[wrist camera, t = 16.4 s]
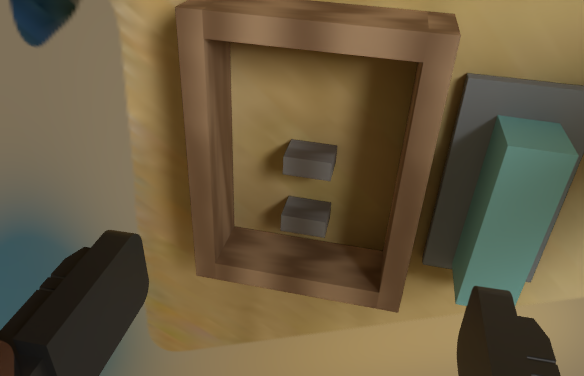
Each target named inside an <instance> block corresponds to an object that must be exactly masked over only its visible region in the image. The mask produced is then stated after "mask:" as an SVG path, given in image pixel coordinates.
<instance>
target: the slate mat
mask: <svg viewBox="0 0 584 376" xmlns="http://www.w3.org/2000/svg"><path fill="white" fill-rule="evenodd" d="M498 115H501V116H508V117H516V118H523V119H531V120H538V121H545V122H553V123H560V124H561V126H562V128H563V129H564V131H565V133H566V134H567V136H568V138H569V140H570V141H571V143H572V145H573V147H574V148H575V150H576V152H577V154H578V155H579V156H578V159H577V161H576V163H575V166H574V168H573V170H572V173H571V175H570V177H569V180H568V182H567V185H566V187H565V189H564V192H563V194H562V196H561V199H560V201H559V203H558V206H557V208H556V211H555V213H554V215H553V218H552V220H551V222H550V225H549V227H548V229H547V232H546V234H545V236H544V239H543V241H542V244H541V246H540V248H539V251H538V253H537V255H536V258H535V260H534V262H533V265H532V267H531V270H530V272H529V274H528V277H527V279H526V281H525V282H531V280H532V278H533V275H534V273H535V270H536V268H537V266H538V263H539V261H540V258H541V256H542V253H543V251H544V249H545V246H546V244H547V241H548V239H549V236H550V234H551V232H552V229H553V227H554V224H555V222H556V219H557V217H558V215H559V212H560V210H561V207H562V205H563V202H564V200H565V198H566V195H567V193H568V190H569V188H570V185H571V183H572V181H573V178H574V176H575V173H576V171H577V168H578V166H579V164H580V161H581V159H582V156H583V154H584V86H580V85H571V84H562V83H553V82H544V81H535V80H525V79H516V78H507V77H498V76H489V75H480V74H471V73H467V76H466V80H465V85H464V89H463V93H462V97H461V101H460V105H459V109H458V113H457V117H456V122H455V126H454V130H453V134H452V138H451V142H450V146H449V150H448V154H447V159H446V163H445V167H444V171H443V175H442V179H441V183H440V187H439V191H438V196H437V200H436V204H435V208H434V212H433V216H432V220H431V224H430V228H429V233H428V237H427V241H426V245H425V249H424V253H423V264H424V265H430V266H436V267H442V268H448V269H452V262H453V259H454V256H455V253H456V249H457V246H458V243H459V240H460V236H461V233H462V230H463V227H464V223H465V220H466V217H467V214H468V210H469V207H470V204H471V201H472V197H473V194H474V191H475V187H476V184H477V181H478V178H479V174H480V171H481V168H482V165H483V161H484V158H485V155H486V152H487V148H488V145H489V142H490V139H491V135H492V132H493V129H494V126H495V122H496V119H497V116H498Z"/></svg>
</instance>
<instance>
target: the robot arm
mask: <svg viewBox="0 0 584 376" xmlns="http://www.w3.org/2000/svg"><path fill="white" fill-rule="evenodd" d="M148 287H149V279H148V273H147V267H146V262H145V256H144V250H143V244H142V240H141V237H140V236H139V235H138V234H134V233H127V232H121V231H114V230H107V231H105V232H104V233H103V234H102V235H101V237H100V238H99V239H98V240H97V241H96V242H95V244H94V245H93V246H92V247H91V248H88V247H83V248H82V249H80V250H78V251H77V252H75V253H74V254H72V255H70V256H69V257H67V258H65V259H64V260H63V262H62V263H61V264H60V265H59V266H58V267H57V268H56V269H55V270H54V271H53V273H52V274H51V277H49V278H47V279H46V280H45V282H44V283H43V284H42V285H41V286H40V289H39V290H36V292H35V293H34V294H33V295H32V296H31V297H30V298H29V299H28V300H27V302H26V303H25V304H24V305H23V306H22V307H21V308H20V309H19V311H18V312H17V313H16V314H15V315H14V316H13V317H12V318H11V319H10V320H9V322H8V323H7V324H6V325H5V326H4V327H3V328H2V329H1V330H0V376H99V375H100V373H101V371H102V370H103V368H104V366H105V365H106V363H107V362H108V360H109V359H110V357H111V355H112V354H113V352H114V350H115V349H116V347H117V346H118V344H119V342H120V341H121V339H122V338H123V336H124V335H125V333H126V331H127V330H128V328H129V326H130V325H131V323H132V321H133V320H134V318H135V317H136V315H137V314H138V312H139V310H140V308H141V307H142V305H143V304H144V302H145V299H146V296H147V293H148ZM457 365H458V374H459V376H560V372H559V369H558V366H557V365H556V359H555V356H554V353H553V349H552V346H551V342H550V339H549V338H548V336H547V335H546V334H545V332H544V331H543V330H542V329H541V327H540V326H539V325H538V324H537V322H536V321H535V320H534V319H533V318H527V317H521V316H517V313H516V309H515V305H514V301H513V297H512V294H511V292H510V291H507V290H501V289H494V288H487V287H481V286H474V287H473V289H472V291H471V294H470V297H469V301H468V304H467V307H466V311H465V314H464V318H463V321H462V324H461V328H460V331H459V336H458V342H457Z"/></svg>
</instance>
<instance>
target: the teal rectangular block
mask: <svg viewBox="0 0 584 376" xmlns="http://www.w3.org/2000/svg"><path fill="white" fill-rule="evenodd" d="M578 156H579V155H578V154H577V152H576V150H575V148H574V147H573V145H572V143H571V141H570V140H569V138H568V136H567V134H566V133H565V131H564V129H563V128H562V126H561V124H560V123H553V122H545V121H538V120H531V119H523V118H516V117H508V116H501V115H498V116H497V119H496V122H495V126H494V129H493V132H492V135H491V139H490V142H489V145H488V148H487V152H486V155H485V158H484V161H483V165H482V168H481V171H480V174H479V178H478V181H477V184H476V187H475V191H474V194H473V197H472V201H471V204H470V207H469V210H468V214H467V217H466V220H465V223H464V227H463V230H462V233H461V236H460V240H459V243H458V246H457V249H456V253H455V256H454V259H453V262H452V270H453V281H454V291H455V302H456V304H459V305H464V306H467V304H468V301H469V297H470V294H471V291H472V289H473V287H474V286H481V287H487V288H494V289H501V290H507V291H510V292H511V294H512V297H513V301H514V305H516V303H517V300H518V298H519V295H520V293H521V291H522V288H523V286H524V284H525V281H526V279H527V277H528V274H529V272H530V270H531V267H532V265H533V262H534V260H535V258H536V255H537V253H538V251H539V248H540V246H541V244H542V241H543V239H544V236H545V234H546V232H547V229H548V227H549V225H550V222H551V220H552V218H553V215H554V213H555V211H556V208H557V206H558V203H559V201H560V199H561V196H562V194H563V192H564V189H565V187H566V185H567V182H568V180H569V177H570V175H571V173H572V170H573V168H574V166H575V163H576V161H577V159H578Z"/></svg>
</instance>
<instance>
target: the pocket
mask: <svg viewBox="0 0 584 376" xmlns="http://www.w3.org/2000/svg"><path fill="white" fill-rule="evenodd" d="M175 14H176V26H177V38H178V51H179V63H180V76H181V88H182V101H183V113H184V126H185V138H186V151H187V163H188V176H189V188H190V201H191V213H192V226H193V238H194V251H195V263H196V275H197V276H202V277H208V278H213V279H218V280H224V281H229V282H235V283H240V284H246V285H251V286H257V287H262V288H267V289H273V290H278V291H284V292H289V293H295V294H300V295H305V296H311V297H316V298H322V299H327V300H333V301H338V302H343V303H349V304H354V305H360V306H365V307H371V308H376V309H381V310H387V311H392V312H398V311H399V306H400V302H401V298H402V293H403V289H404V284H405V280H406V275H407V271H408V267H409V262H410V258H411V253H412V249H413V245H414V240H415V236H416V231H417V227H418V222H419V218H420V214H421V209H422V205H423V200H424V196H425V192H426V187H427V183H428V178H429V174H430V169H431V165H432V161H433V156H434V152H435V147H436V143H437V139H438V134H439V130H440V125H441V121H442V116H443V112H444V108H445V103H446V99H447V94H448V90H449V86H450V81H451V77H452V72H453V68H454V64H455V59H456V55H457V50H458V46H459V41H460V37H461V35H460V31H459V27H458V24H457V20H456V17H455V14H449V13H438V12H427V11H417V10H406V9H395V8H384V7H374V6H363V5H352V4H341V3H331V2H320V1H309V0H187V1H186V2H184V3H182V4H180V5H178V6H176V7H175ZM230 42H238V43H248V44H257V45H266V46H275V47H285V48H294V49H303V50H312V51H321V52H331V53H340V54H349V55H358V56H368V57H377V58H386V59H395V60H404V61H414V62H418V65H417V70H416V76H415V81H414V87H413V92H412V97H411V103H410V108H409V114H408V119H407V124H406V130H405V135H404V141H403V146H402V151H401V157H400V162H399V168H398V173H397V178H396V184H395V189H394V194H393V200H392V205H391V211H390V216H389V221H388V227H387V232H386V238H385V243H384V248H383V251H378V250H372V249H366V248H360V247H354V246H348V245H342V244H336V243H330V242H324V241H318V240H312V239H306V238H300V237H294V236H288V235H282V234H276V233H270V232H264V231H258V230H252V229H246V228H240V227H234V194H233V151H232V108H231V65H230ZM336 154H337V145H329V144H322V143H315V142H307V141H300V140H293V139H291V142H290V144H289V146H288V148H287V150H286V152H285V154H284V157H283V174H285V175H292V176H298V177H305V178H312V179H319V180H326V181H331V177H332V174H333V170H334V167H335V163H336ZM330 211H331V202H325V201H318V200H312V199H305V198H299V197H292V196H289V197H288V199H287V202H286V204H285V207H284V209H283V212H282V214H281V231H287V232H293V233H299V234H305V235H311V236H317V237H323V238H325V234H326V231H327V227H328V223H329V219H330Z"/></svg>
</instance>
